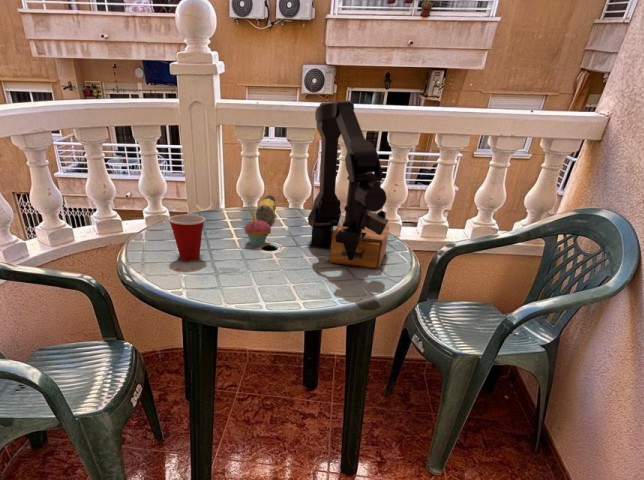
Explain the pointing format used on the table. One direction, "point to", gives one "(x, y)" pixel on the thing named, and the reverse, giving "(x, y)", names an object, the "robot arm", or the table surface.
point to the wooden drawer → (357, 253)
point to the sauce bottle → (266, 209)
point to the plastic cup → (187, 235)
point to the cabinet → (368, 237)
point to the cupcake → (257, 231)
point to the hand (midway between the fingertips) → (350, 259)
